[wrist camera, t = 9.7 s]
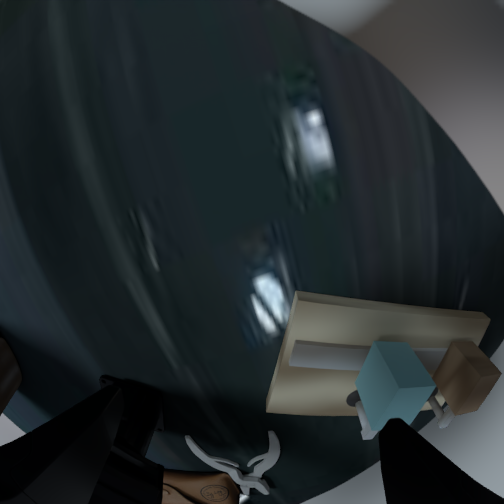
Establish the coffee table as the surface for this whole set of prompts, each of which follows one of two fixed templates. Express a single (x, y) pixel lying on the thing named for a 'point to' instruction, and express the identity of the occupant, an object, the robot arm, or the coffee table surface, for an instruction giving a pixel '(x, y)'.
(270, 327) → the coffee table surface
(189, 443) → the pliers
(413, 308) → the beige board with blocks
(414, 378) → the teal block
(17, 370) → the plant pot
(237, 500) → the sunglasses case
